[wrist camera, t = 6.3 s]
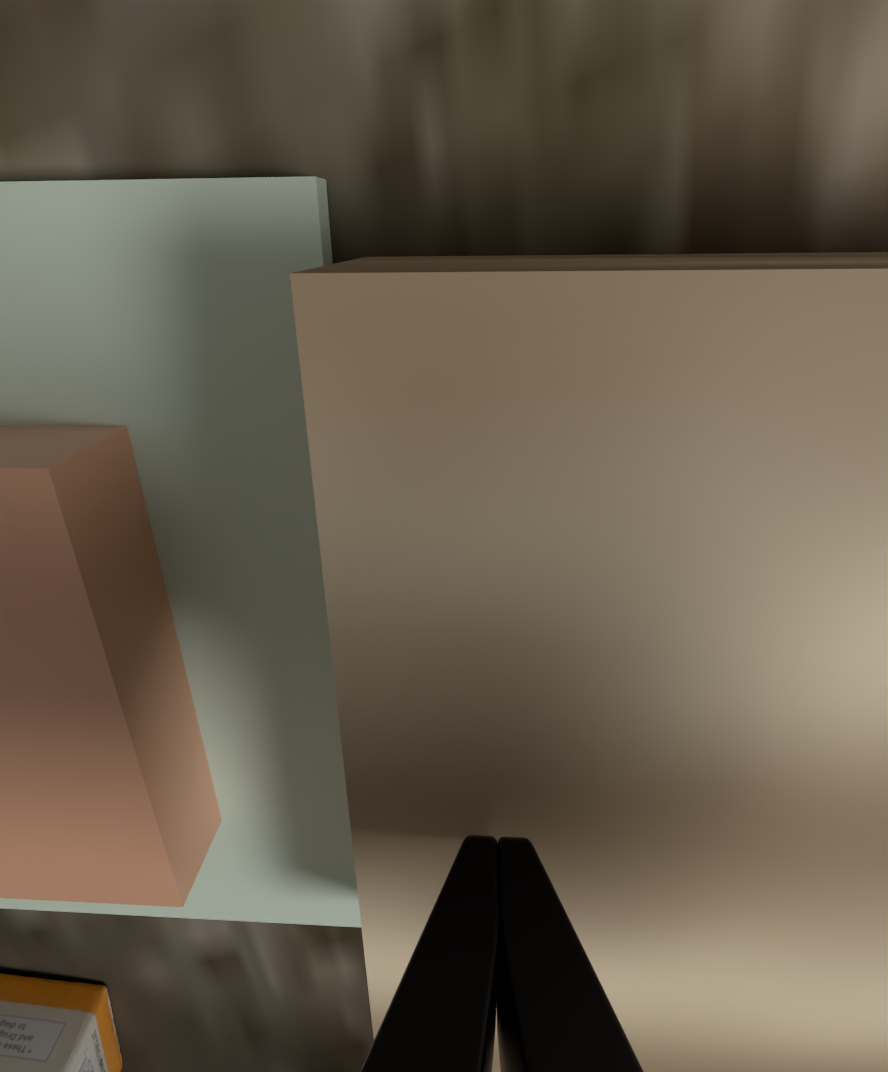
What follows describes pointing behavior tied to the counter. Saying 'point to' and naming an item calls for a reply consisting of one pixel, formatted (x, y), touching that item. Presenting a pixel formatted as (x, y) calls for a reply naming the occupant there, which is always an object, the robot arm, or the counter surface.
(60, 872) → the tile
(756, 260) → the board
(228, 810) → the mat
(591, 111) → the counter surface
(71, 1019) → the supplement box
